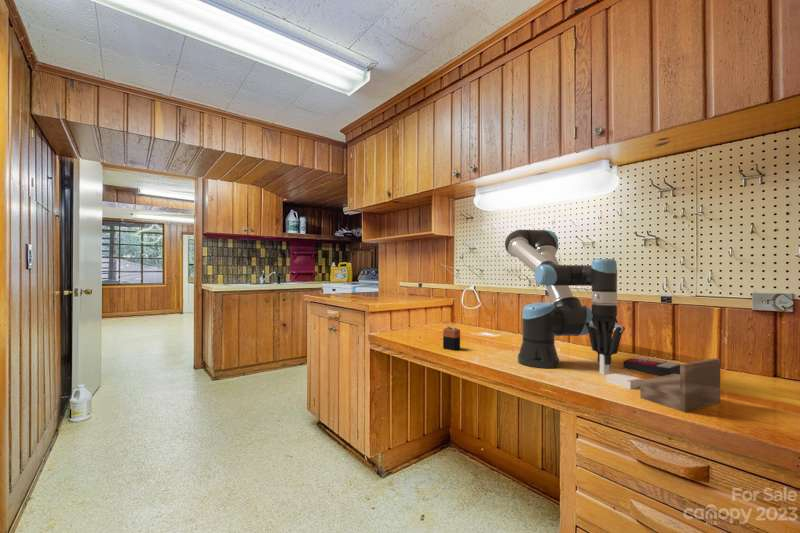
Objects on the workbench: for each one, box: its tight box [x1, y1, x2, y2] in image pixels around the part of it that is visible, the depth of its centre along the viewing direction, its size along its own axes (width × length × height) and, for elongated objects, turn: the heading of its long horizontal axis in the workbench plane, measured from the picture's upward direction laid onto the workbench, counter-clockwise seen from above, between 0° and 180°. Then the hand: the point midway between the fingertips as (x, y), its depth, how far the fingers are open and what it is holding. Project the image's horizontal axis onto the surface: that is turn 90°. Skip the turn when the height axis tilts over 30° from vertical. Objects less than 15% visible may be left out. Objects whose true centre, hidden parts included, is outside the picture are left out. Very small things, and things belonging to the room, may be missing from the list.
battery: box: [442, 325, 461, 351], centre depth 162 cm, size 4×7×10 cm, turn 48°
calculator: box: [623, 356, 682, 377], centre depth 129 cm, size 11×4×15 cm
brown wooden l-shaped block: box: [639, 357, 721, 413], centre depth 100 cm, size 11×17×12 cm, turn 115°
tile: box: [605, 372, 646, 390], centre depth 114 cm, size 8×7×3 cm
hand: (604, 373), depth 121 cm, fingers closed
